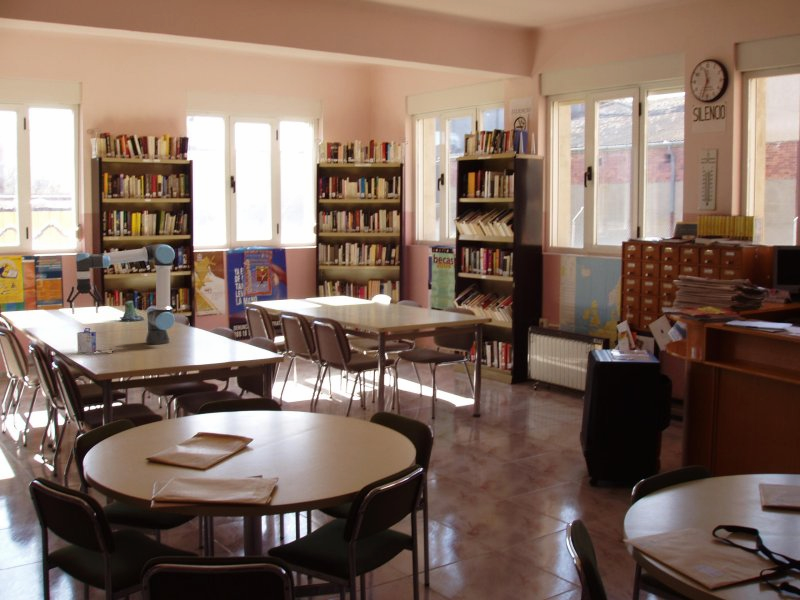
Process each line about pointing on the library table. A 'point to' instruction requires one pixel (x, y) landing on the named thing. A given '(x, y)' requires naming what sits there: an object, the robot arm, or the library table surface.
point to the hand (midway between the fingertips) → (85, 313)
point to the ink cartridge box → (86, 341)
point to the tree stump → (131, 313)
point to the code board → (93, 352)
